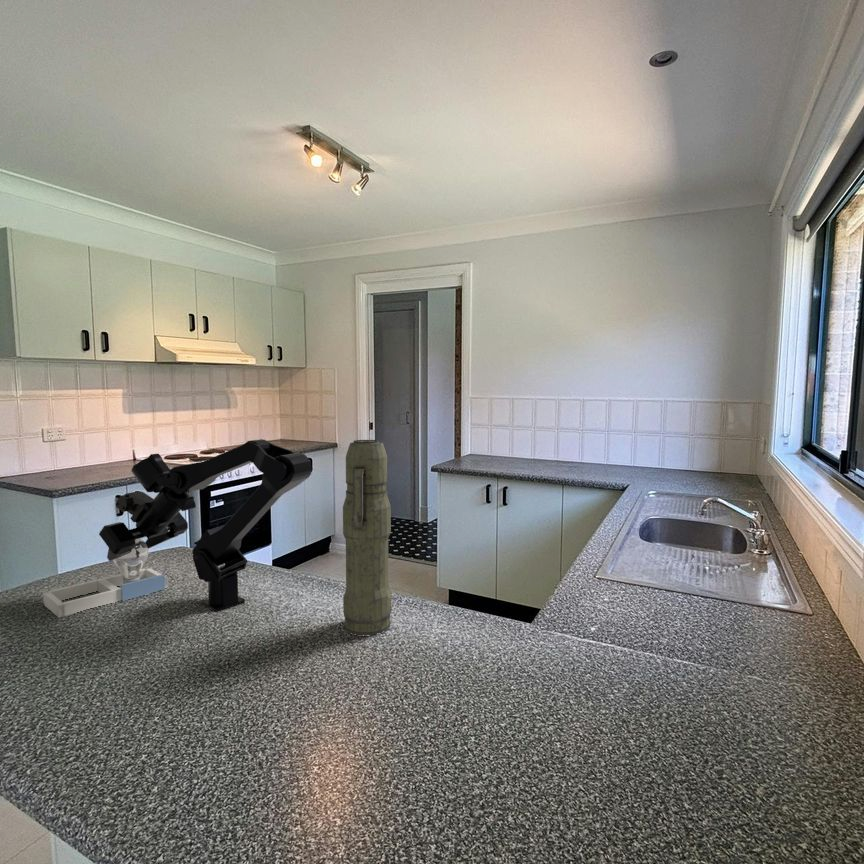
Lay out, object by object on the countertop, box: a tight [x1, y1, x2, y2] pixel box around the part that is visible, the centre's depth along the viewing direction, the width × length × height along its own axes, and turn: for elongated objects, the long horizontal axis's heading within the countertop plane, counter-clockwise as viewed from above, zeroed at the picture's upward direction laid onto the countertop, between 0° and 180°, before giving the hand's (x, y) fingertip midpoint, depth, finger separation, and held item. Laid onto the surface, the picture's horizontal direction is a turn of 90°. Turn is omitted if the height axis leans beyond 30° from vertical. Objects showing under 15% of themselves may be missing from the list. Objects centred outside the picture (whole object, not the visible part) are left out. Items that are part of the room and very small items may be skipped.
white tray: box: [42, 567, 169, 619], centre depth 111 cm, size 11×21×4 cm, turn 140°
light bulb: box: [112, 538, 149, 584], centre depth 114 cm, size 7×7×12 cm
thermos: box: [342, 439, 392, 636], centre depth 96 cm, size 9×12×35 cm
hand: (127, 553), depth 115 cm, fingers open, 9 cm apart
